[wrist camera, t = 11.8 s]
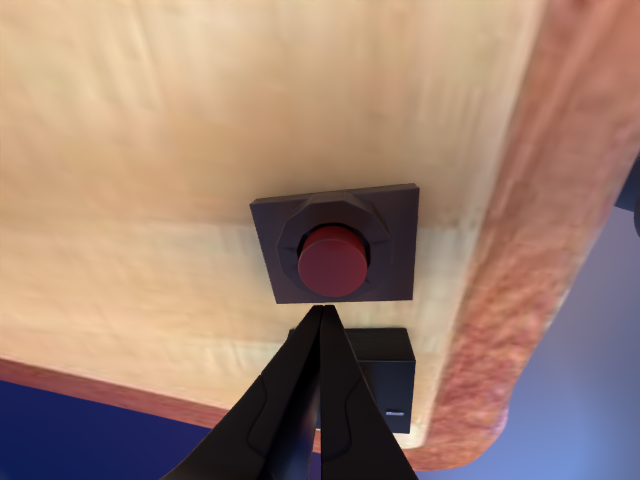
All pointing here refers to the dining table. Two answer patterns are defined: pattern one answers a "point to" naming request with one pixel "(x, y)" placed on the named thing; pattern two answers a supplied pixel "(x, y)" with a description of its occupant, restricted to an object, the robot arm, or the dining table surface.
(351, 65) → the dining table surface
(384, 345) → the black dial base
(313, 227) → the button block
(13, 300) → the dining table surface
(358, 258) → the red button
